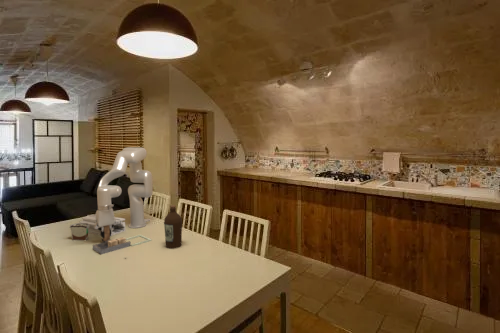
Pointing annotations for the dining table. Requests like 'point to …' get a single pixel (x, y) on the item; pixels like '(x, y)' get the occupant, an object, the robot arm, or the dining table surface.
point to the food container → (79, 231)
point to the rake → (106, 234)
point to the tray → (139, 242)
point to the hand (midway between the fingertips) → (106, 236)
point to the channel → (104, 248)
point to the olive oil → (173, 228)
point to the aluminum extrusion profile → (91, 221)
